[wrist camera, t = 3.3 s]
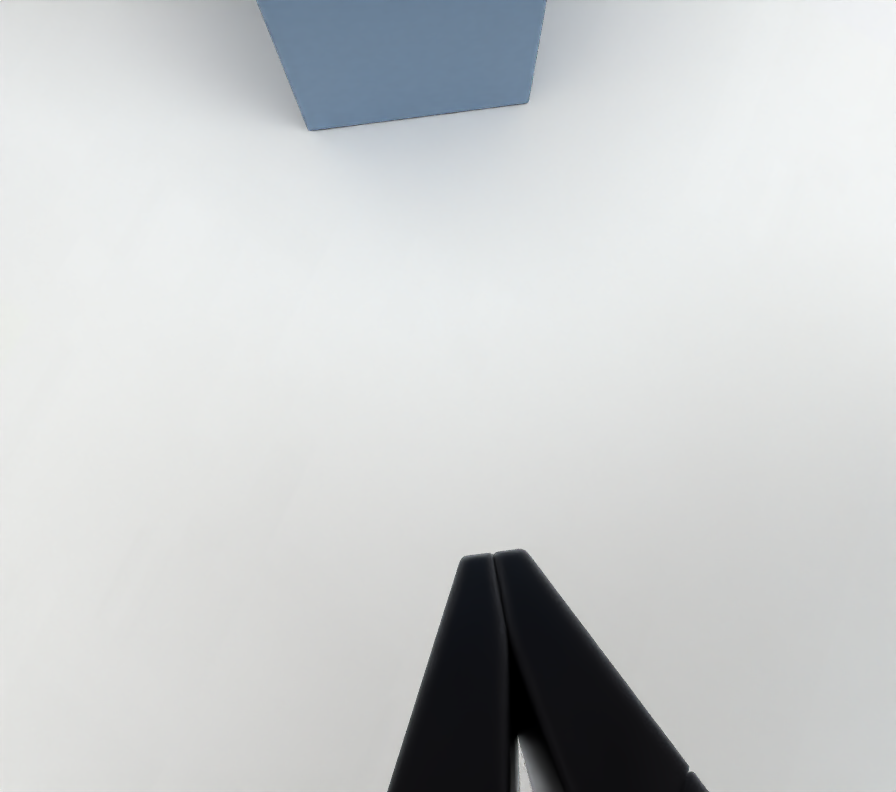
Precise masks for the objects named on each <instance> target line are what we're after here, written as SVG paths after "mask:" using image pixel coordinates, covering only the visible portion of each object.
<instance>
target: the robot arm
mask: <svg viewBox="0 0 896 792" xmlns="http://www.w3.org/2000/svg"><path fill="white" fill-rule="evenodd" d="M518 739H519V743H520V747H521V751H522V754H523V758H524V762H525V765H526V769H527V773H528V776H529V780H530V784H531V787H532V791H533V792H708V790H707V789H706V788H705V786H704V785H703V784H702V782H701V781H700V780H699V778H698V777H697V776H696V774H695V773H694V772H689V766H688V764H687V763H686V762H685V760H684V759H683V758H682V756H681V755H680V754H679V752H678V751H677V750H676V748H675V747H674V746H673V744H672V743H671V742H670V740H669V739H668V738H667V736H666V735H665V734H664V732H663V731H662V730H661V728H660V727H659V726H658V724H657V723H656V722H655V721H654V719H653V718H652V717H651V715H650V714H649V713H648V711H647V710H646V709H645V707H644V706H643V705H642V703H641V702H640V701H639V699H638V698H637V697H636V695H635V694H634V693H633V691H632V690H631V689H630V687H629V686H628V685H627V683H626V682H625V681H624V679H623V678H622V677H621V675H620V674H619V673H618V671H617V670H616V669H615V668H614V666H613V665H612V664H611V662H610V661H609V660H608V658H607V657H606V656H605V654H604V653H603V652H602V650H601V649H600V648H599V646H598V645H597V644H596V642H595V641H594V640H593V638H592V637H591V636H590V634H589V633H588V632H587V630H586V629H585V628H584V626H583V625H582V624H581V622H580V621H579V620H578V618H577V617H576V616H575V615H574V613H573V612H572V611H571V609H570V608H569V607H568V605H567V604H566V603H565V601H564V600H563V599H562V597H561V596H560V595H559V593H558V592H557V591H556V589H555V588H554V587H553V585H552V584H551V583H550V581H549V580H548V579H547V577H546V576H545V575H544V573H543V572H542V571H541V569H540V568H539V567H538V565H537V564H536V563H535V562H534V560H533V559H532V558H531V556H530V555H529V554H528V553H527V552H526V551H525V550H523V549H515V550H507V551H500V552H496V553H495V554H494V555H493V554H491V553H485V554H477V555H469V556H465V557H463V558H462V559H461V561H460V562H459V565H458V569H457V572H456V575H455V578H454V581H453V584H452V588H451V591H450V594H449V597H448V600H447V603H446V607H445V610H444V613H443V616H442V619H441V623H440V626H439V629H438V632H437V635H436V638H435V642H434V645H433V648H432V651H431V654H430V657H429V661H428V664H427V667H426V670H425V673H424V677H423V680H422V683H421V686H420V689H419V692H418V696H417V699H416V702H415V705H414V708H413V712H412V715H411V718H410V721H409V724H408V727H407V731H406V734H405V737H404V740H403V743H402V746H401V750H400V753H399V756H398V759H397V762H396V766H395V769H394V772H393V775H392V778H391V781H390V785H389V788H388V791H387V792H520V788H519V754H518Z"/></svg>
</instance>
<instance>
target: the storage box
mask: <svg viewBox="0 0 896 792" xmlns="http://www.w3.org/2000/svg"><path fill="white" fill-rule="evenodd" d="M256 1H257V3H258V6H259V8H260V11H261V13H262V16H263V18H264V21H265V23H266V26H267V28H268V31H269V33H270V36H271V38H272V41H273V43H274V46H275V48H276V51H277V53H278V56H279V58H280V61H281V63H282V66H283V68H284V71H285V74H286V76H287V79H288V81H289V84H290V86H291V89H292V91H293V94H294V96H295V99H296V101H297V104H298V106H299V109H300V111H301V114H302V116H303V119H304V121H305V124H306V126H307V128H308V130H310V131H312V130H319V129H327V128H335V127H343V126H351V125H359V124H366V123H374V122H382V121H390V120H398V119H406V118H413V117H421V116H429V115H437V114H445V113H453V112H460V111H468V110H476V109H484V108H492V107H500V106H508V105H515V104H523V103H528V101H529V97H530V91H531V85H532V80H533V74H534V69H535V63H536V58H537V52H538V46H539V41H540V35H541V30H542V24H543V18H544V13H545V7H546V2H547V0H256Z"/></svg>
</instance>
